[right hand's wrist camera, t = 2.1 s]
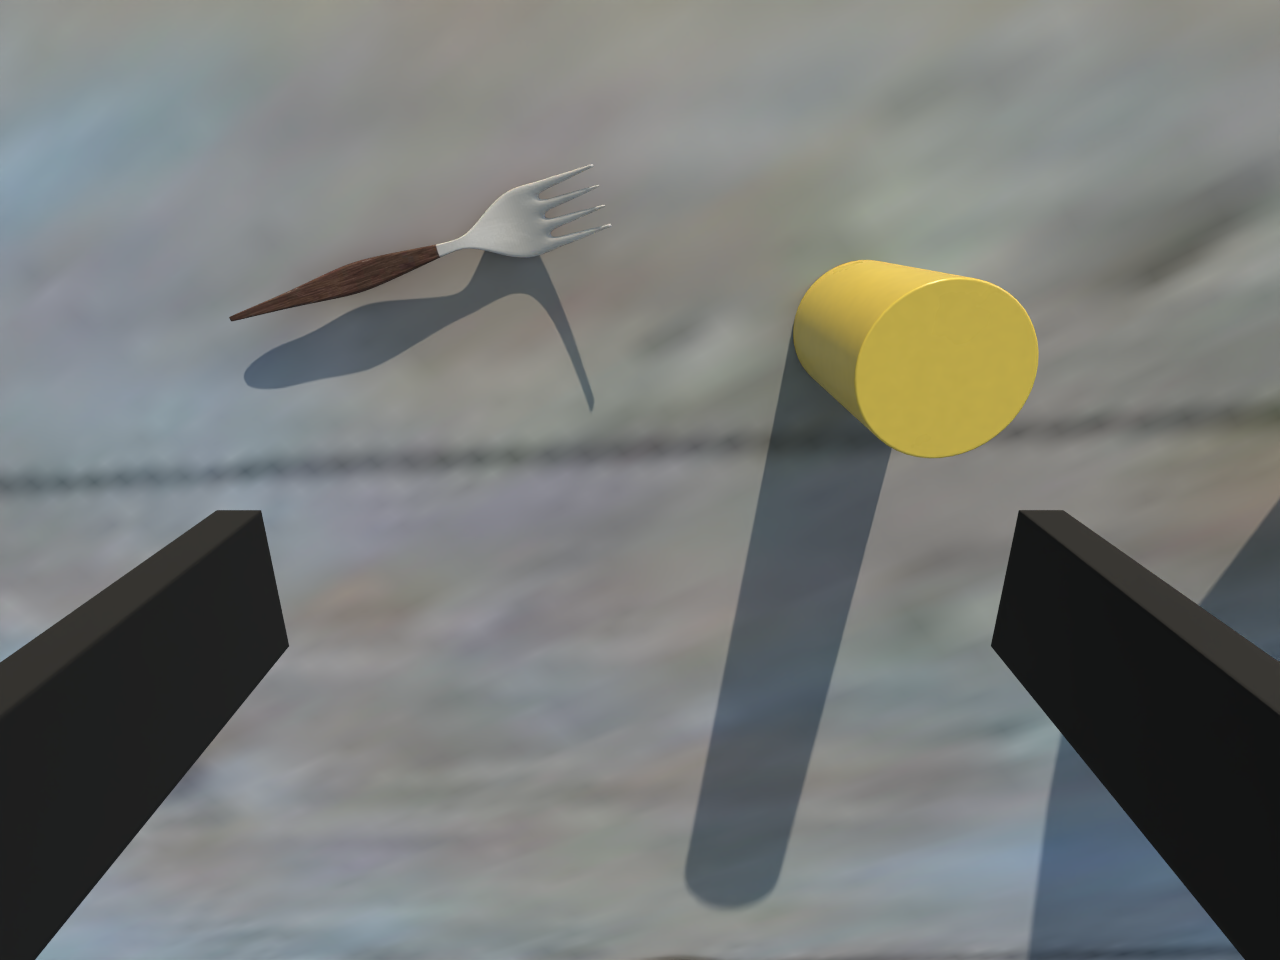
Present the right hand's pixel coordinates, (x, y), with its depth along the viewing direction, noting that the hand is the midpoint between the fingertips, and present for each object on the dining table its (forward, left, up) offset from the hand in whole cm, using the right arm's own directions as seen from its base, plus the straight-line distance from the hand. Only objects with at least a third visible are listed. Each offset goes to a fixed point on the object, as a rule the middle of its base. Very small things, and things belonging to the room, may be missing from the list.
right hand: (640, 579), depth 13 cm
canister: (-3, -9, -19) cm, 21 cm away
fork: (+8, +6, -19) cm, 21 cm away
